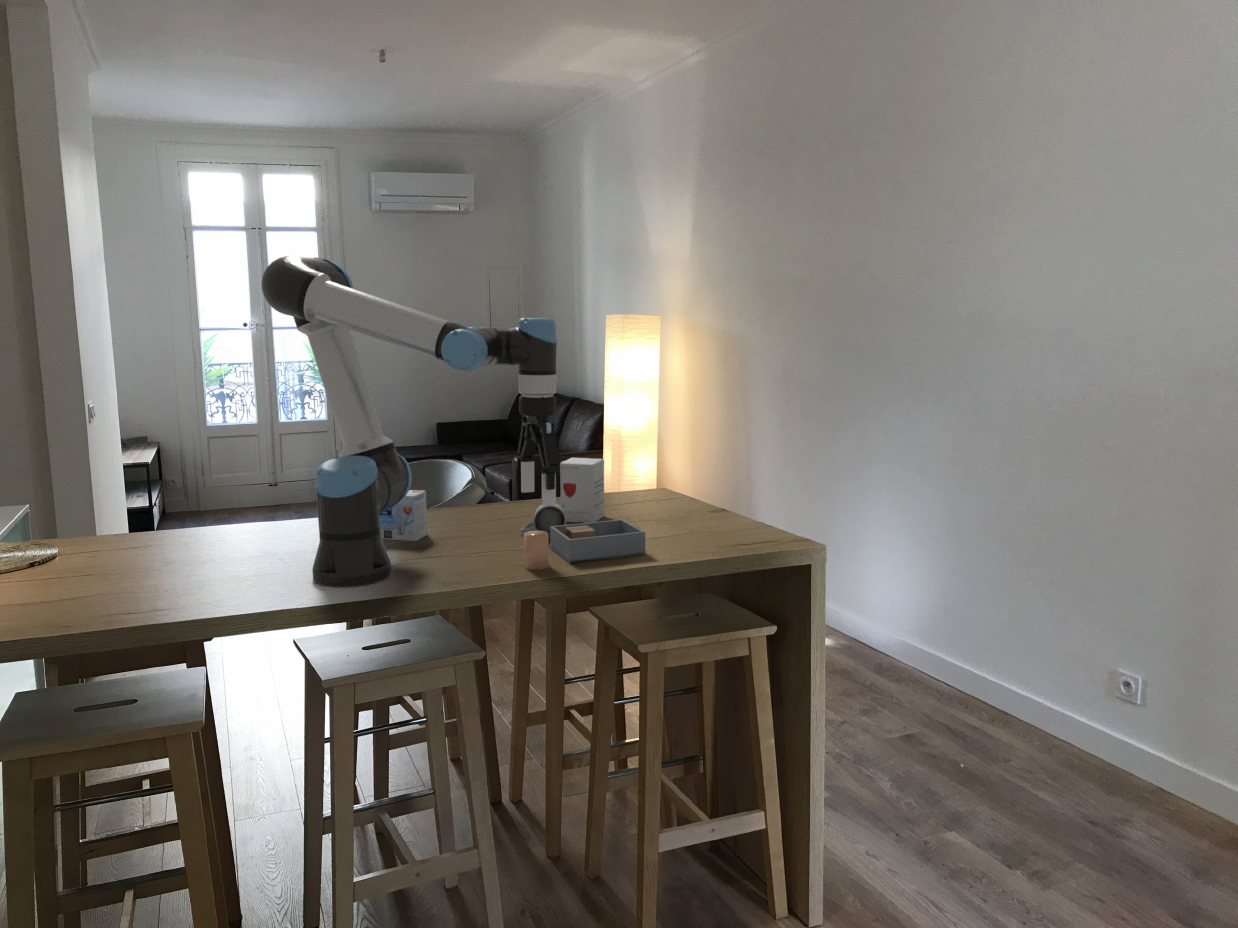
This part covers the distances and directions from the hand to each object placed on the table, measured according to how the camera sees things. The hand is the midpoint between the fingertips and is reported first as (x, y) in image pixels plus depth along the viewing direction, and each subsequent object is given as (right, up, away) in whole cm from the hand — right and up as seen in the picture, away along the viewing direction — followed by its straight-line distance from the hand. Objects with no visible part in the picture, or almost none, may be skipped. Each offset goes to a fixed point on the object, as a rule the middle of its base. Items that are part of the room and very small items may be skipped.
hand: (537, 498), depth 191 cm
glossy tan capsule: (0, -14, +1) cm, 14 cm away
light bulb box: (-34, -10, +27) cm, 45 cm away
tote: (+12, -12, +12) cm, 21 cm away
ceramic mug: (-1, -10, +28) cm, 29 cm away
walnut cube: (+8, -12, +10) cm, 18 cm away
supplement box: (+8, -7, +43) cm, 44 cm away
